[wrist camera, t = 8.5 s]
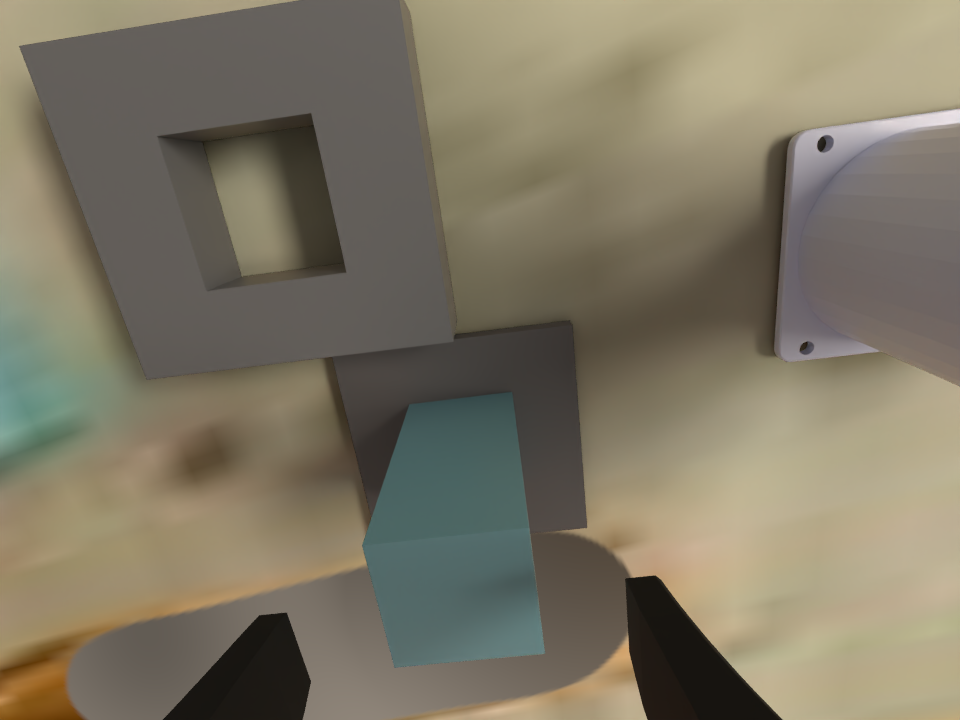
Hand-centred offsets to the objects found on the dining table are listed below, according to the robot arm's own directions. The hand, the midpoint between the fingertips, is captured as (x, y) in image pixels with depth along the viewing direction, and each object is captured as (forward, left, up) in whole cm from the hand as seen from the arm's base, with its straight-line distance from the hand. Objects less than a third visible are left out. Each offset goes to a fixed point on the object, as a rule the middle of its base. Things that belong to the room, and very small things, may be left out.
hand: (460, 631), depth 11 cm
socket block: (+5, -9, -10) cm, 15 cm away
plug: (0, +1, -10) cm, 10 cm away
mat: (0, +1, -10) cm, 10 cm away
